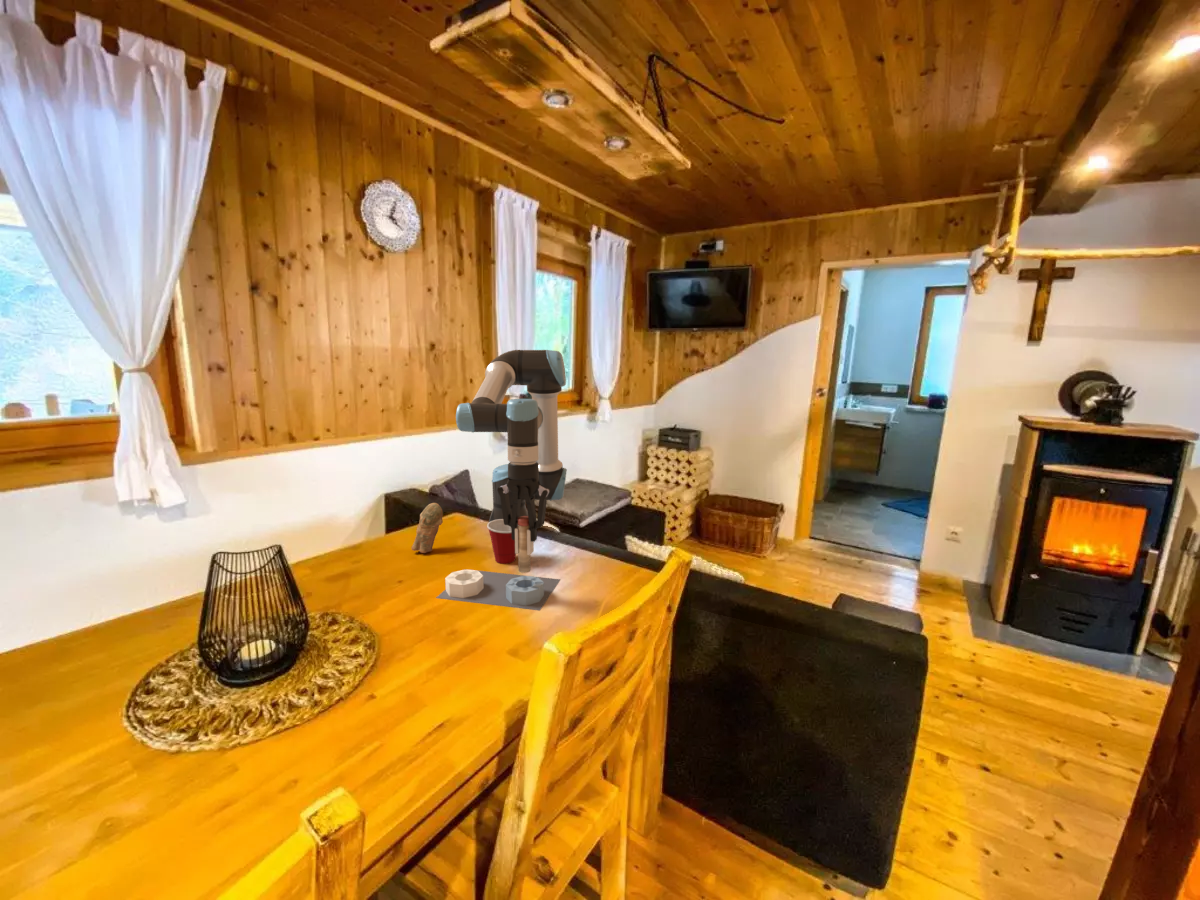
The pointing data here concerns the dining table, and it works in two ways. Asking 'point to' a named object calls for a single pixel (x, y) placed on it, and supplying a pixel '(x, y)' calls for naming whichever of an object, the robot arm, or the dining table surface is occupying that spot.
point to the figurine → (428, 528)
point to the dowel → (523, 544)
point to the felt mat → (502, 591)
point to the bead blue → (525, 590)
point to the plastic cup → (502, 541)
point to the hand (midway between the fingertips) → (524, 552)
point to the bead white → (464, 583)
